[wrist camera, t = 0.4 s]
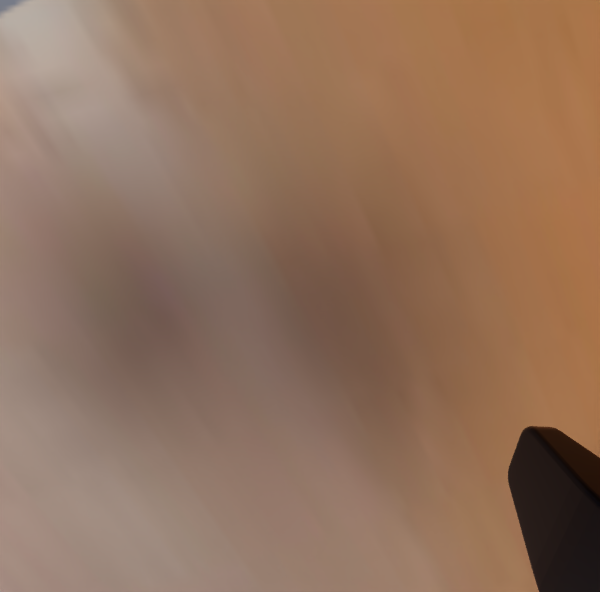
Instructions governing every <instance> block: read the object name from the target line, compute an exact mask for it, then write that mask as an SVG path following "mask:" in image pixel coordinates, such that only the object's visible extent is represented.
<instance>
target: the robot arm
mask: <svg viewBox="0 0 600 592" xmlns="http://www.w3.org/2000/svg"><path fill="white" fill-rule="evenodd" d="M508 482H509V487H510V490H511V494H512V498H513V501H514V505H515V509H516V512H517V516H518V519H519V523H520V527H521V530H522V534H523V538H524V541H525V545H526V548H527V552H528V556H529V559H530V563H531V567H532V570H533V574H534V577H535V580H536V583H537V587H538V590H539V592H600V458H599V457H598V456H596V455H595V454H593V453H592V452H590V451H589V450H587V449H586V448H584V447H583V446H582V445H580V444H579V443H577V442H576V441H574V440H573V439H571V438H570V437H568V436H567V435H565V434H564V433H563V432H561V431H560V430H558V429H556V428H552V427H537V426H530V427H527V428H525V429H524V430H523V431H522V433H521V436H520V438H519V441H518V444H517V446H516V449H515V452H514V455H513V457H512V460H511V463H510V466H509V470H508Z"/></svg>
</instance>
